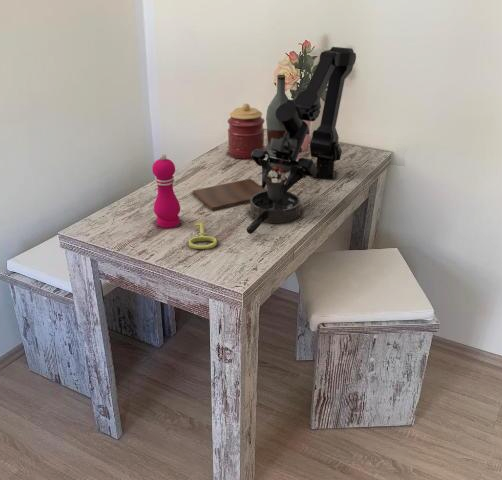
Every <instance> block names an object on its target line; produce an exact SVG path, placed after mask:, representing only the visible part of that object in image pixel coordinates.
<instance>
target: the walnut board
mask: <svg viewBox="0 0 502 480" xmlns="http://www.w3.org/2000/svg"><path fill="white" fill-rule="evenodd" d="M262 191H267V189H266V188H262V185H260V184H258V183H257V182H255V181H254V180H252V179H251V178H247V179H243V180H238V181H232V182H228V183H223V184H219V185H214V186H213V185H212V186H209V187H208V186H207V187H203V188H198V189H193V190H192V194H193V195H194V197H196V198H197V199H198V200H200V202H202V203H203V204H204V205H206V207H207V208H209V209H210V210H211V211H217V210H221V209H225V208H231V207H235V206H238V205H239V206H240V205H243V204H248V203H250V199H251V197H252V196H253V195H255V194H256V193H259V192H262Z"/></svg>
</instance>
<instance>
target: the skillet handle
mask: <svg viewBox="0 0 502 480" xmlns="http://www.w3.org/2000/svg"><path fill="white" fill-rule="evenodd" d="M267 217H268V212H267V211H263V212H262V213H261V214H260V215H259V216H258V217H257V218H256V219H255V218H254V219H253V221H252V222H251V223H250V224H249V225H248V226H247V228H246V233H247V234H249V235H252V234H253V233H255V232H256V230H257V229H258V228H259V227H260V226H261V225H262V224H263V223H264V222H263V221H264V220H265V219H266V218H267Z"/></svg>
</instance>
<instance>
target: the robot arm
mask: <svg viewBox="0 0 502 480" xmlns="http://www.w3.org/2000/svg"><path fill="white" fill-rule="evenodd" d="M356 61H357V54H356V52H355V51H354V49H353V48H351V47H343V46H342V47H341V46H332V47H331V48H330V49H326V50H324V51H321V52H320V55H319V61H318V62H317V64H316V67H315V69H314V71H313V73H312V75H311V77H310V79H309V81H308V83H307V85H306V87H305V88H304V90H302V91H301V92H300V93H298V94H297V95H296V96H295V99H289V98H288V100H287V102H286V103H284V104H282V105H280V106H279V107H278V108H277V110H276V113H275V115H276V118H277V119H278V121H279V123H280V124H281V126H282V128H283V129H284V130H285V131H286V132H285V134H284V137H281V138H280V139H274V138H271V141H270V145H269V150H273V154H275V155H276V157H274V156H270V155H269V153H268V152H267V151H266V149H264V150H261V149H255V150H253V152H252V154H251V157H252V158H251V159H252V160H253V162H255V164H256V165H257V166H260V167H261V187H262V188H264V189H266V187H267V184H266V183H265V182H264V177H265V174H267V175H268V174H269V172H270V171H271V170H272V169H273V168H272V167H271V165H272V163H273V164H278V165H283V166H288V167H290V169H289V172H290V173H289V174H288V176H287V181H286V182H285V185H284V188H283V193H286V192H289V190H290V189H291V188H292V187H293V186H294V185H296V184H297V183H298V182H300V181H301V180H302V179H306V178H307V177H311V178H315V179H324V180H325V179H326V180H334V179H335V177H336V176H335V175H336V170H335V162H336V161H341V156H342V152H343V150H342V147H341V146H340V144H339V140H340V139H339V138H340V137H339V134H338V131H337V128H336V126H337V121H338V116H339V111H340V106H341V100H342V97H343V91H344V85H345V81H346V79H347V78H348V76H349V75H350V74H351V73H352V71H353V69H354V68H353V67H354V66H355V64H356ZM325 90H326V93H325V98H324V103H323V108H322V104H321V98H322V95H323V93H324V91H325ZM321 109H322V113H321ZM320 114H321V120H320V125H319V126H318V127H317V128H316V129H314V130H313V132H312V137H311V140H310V142H309V152H310V157H311V158H316V163H315V161H314V160H313V159H310V158H305V157H299V158H298V156H299V154H300V153H301V154H302V152H303V148H302V147H303V144H304V141H305V139H306V136H307V135H310V128H309V124H308V123H307V122H315V121H316V120H317V119H318V118H319V116H320ZM297 159H298V160H297ZM280 161H283V162H282V163H281V162H280Z"/></svg>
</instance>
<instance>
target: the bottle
mask: <svg viewBox="0 0 502 480" xmlns="http://www.w3.org/2000/svg"><path fill="white" fill-rule="evenodd" d="M276 77H277V79H276V80H277V81H276V94H275V95H274V97H273V98H272V100H271V101H270V103H269V105H268V106H267V109H266V114H265V115H266V117H265V121H266V139H267V142H266V147H265V148H266V149H265V150H266V151H267V152H268V153H269V155H270V156H274V157H276V155H275V154H273V150H269V145H270V141H271V138H274V139H280V138H281V137H284V134H285V132H286V131H285V130H284V129H283V128H282V126H281V124H280V123H279V121H278V119H277V118H276V115H275V113H276V110H277V108H278V107H279V106H280V105H282V104H284V103H286V102H287V100H288V99H289V98H288V96H287V94H286V77H287V76H286V75H285V74H277V76H276ZM277 166H278V169H279V168H282V169H283V171H282V172H286V171H289V170H291V167H288V166H283V165H278V164H273V163H272V165H271V167H272V168H273V169H274V167H277Z"/></svg>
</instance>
